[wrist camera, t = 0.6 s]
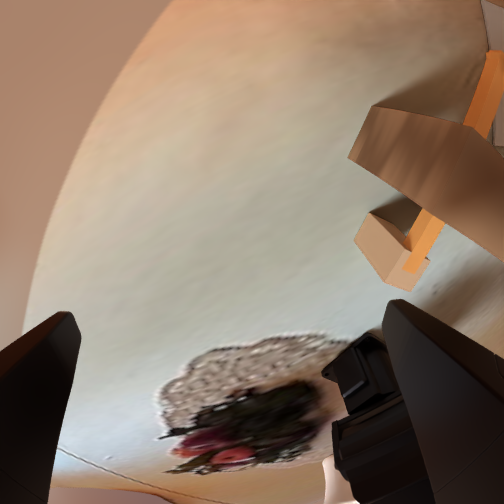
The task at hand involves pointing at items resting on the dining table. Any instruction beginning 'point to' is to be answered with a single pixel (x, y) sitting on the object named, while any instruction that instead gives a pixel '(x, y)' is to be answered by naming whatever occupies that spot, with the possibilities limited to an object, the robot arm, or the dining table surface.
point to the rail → (426, 225)
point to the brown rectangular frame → (438, 170)
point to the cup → (336, 485)
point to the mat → (499, 38)
